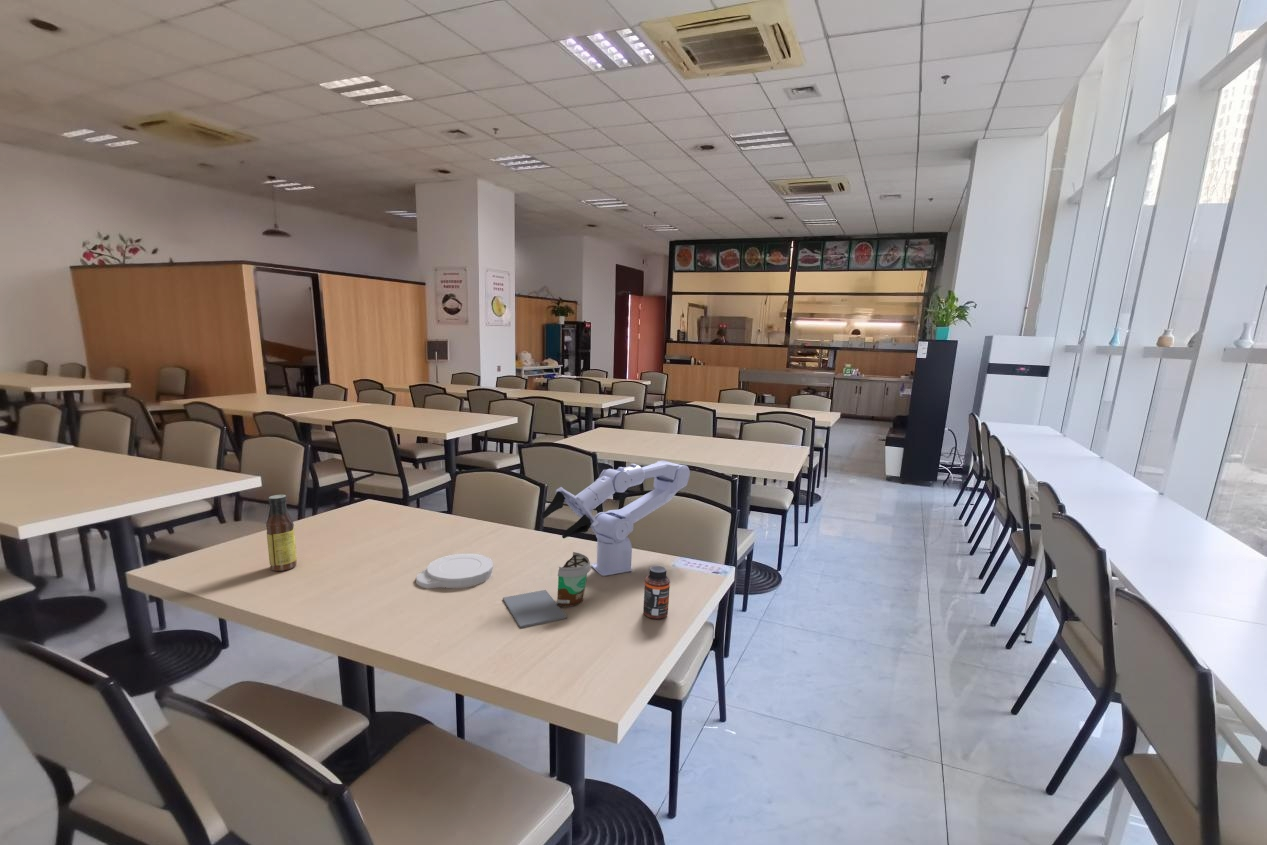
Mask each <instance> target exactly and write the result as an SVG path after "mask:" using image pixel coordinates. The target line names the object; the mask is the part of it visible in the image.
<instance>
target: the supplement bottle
mask: <svg viewBox="0 0 1267 845" xmlns="http://www.w3.org/2000/svg"><path fill="white" fill-rule="evenodd" d="M648 572H649V573H648V575H647V576H646V577H645V579H644V592H643V593H644V595H643V606H642V607H643V610H642V611H643V614H644V616H646V617H647V618H650V619H652V620H660V619H661V618H662V619H664V618H666V617H667V616H668V614H669V605H670V604H669V602H670V586H671V585H670V583H671V581H670V577H668V576H667V568H666V567H664V566H660V565H653V566H650V567H649V571H648Z"/></svg>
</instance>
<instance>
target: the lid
mask: <svg viewBox="0 0 1267 845" xmlns="http://www.w3.org/2000/svg"><path fill="white" fill-rule="evenodd" d="M493 568H494V562H493V560H492V559H491V558H490V557H488V556H486V555H484V554H483V555H482V554H479V553H470V552H469V553H454V554H449V555H445V556H441V557H439V558H436V559H434V560H433V561H431V562H430V563H428V565H427V567H426V569H425V570H422V571H421V572H419V573H418V574H417V575H416V577H415V579H416V580H415V581H416V585H417V586H419V587H420V588H425V589H428V590H429V589H435V588H436V589H437V588H445V587H446V589H460V588H461V589H463V588H467V587H469V586H470V587H472V586H477V585H480V584H482V583H484V582H486V581H487V580H489V578H491V577H492V574H493ZM470 587H469V588H470Z"/></svg>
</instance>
